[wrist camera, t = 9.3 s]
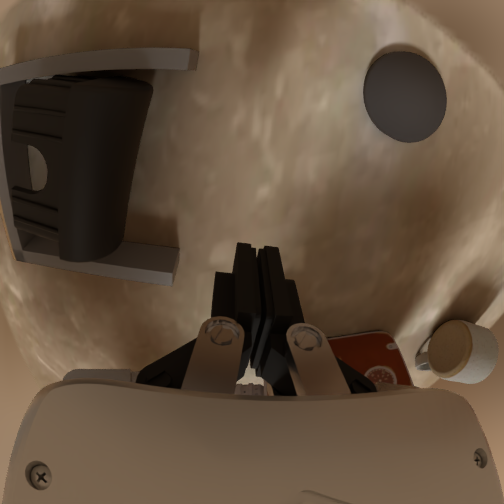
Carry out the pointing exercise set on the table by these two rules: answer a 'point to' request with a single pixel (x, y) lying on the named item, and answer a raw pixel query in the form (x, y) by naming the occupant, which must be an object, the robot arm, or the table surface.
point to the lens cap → (405, 96)
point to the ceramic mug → (460, 352)
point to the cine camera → (360, 360)
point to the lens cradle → (17, 171)
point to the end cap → (80, 159)
